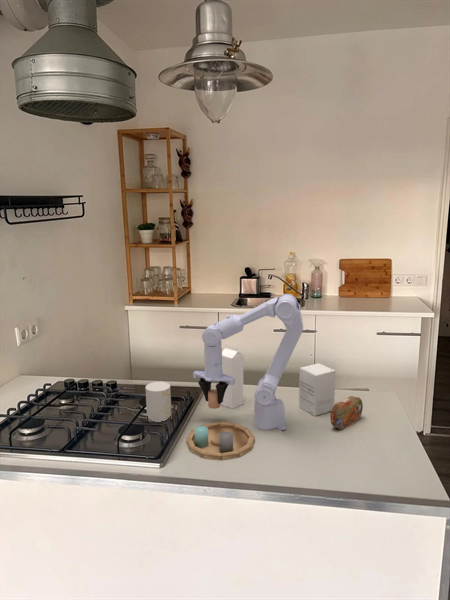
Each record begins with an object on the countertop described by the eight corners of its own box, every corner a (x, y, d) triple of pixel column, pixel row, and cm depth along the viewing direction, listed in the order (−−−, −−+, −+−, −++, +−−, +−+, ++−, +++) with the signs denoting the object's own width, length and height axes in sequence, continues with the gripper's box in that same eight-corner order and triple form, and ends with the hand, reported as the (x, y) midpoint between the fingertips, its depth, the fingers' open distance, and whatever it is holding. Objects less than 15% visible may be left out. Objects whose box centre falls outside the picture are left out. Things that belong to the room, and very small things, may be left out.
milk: (231, 399, 173) (231, 342, 169) (243, 403, 169) (243, 345, 165) (219, 404, 169) (219, 345, 164) (232, 409, 165) (232, 349, 160)
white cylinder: (167, 426, 153) (165, 392, 150) (143, 424, 154) (141, 390, 152) (174, 415, 161) (173, 382, 158) (152, 413, 162) (150, 380, 160)
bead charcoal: (230, 446, 138) (230, 430, 137) (235, 453, 134) (234, 437, 133) (217, 448, 137) (217, 433, 136) (221, 455, 133) (221, 439, 132)
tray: (241, 424, 154) (241, 418, 153) (263, 455, 135) (263, 448, 134) (181, 434, 148) (181, 427, 147) (196, 467, 129) (196, 460, 129)
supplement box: (317, 401, 171) (318, 362, 168) (334, 410, 163) (336, 370, 160) (297, 406, 166) (298, 367, 163) (314, 416, 159) (316, 375, 155)
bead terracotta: (218, 402, 156) (218, 388, 155) (221, 407, 152) (221, 393, 151) (206, 404, 155) (206, 390, 154) (210, 409, 151) (209, 394, 150)
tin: (336, 433, 148) (337, 408, 146) (328, 429, 150) (329, 405, 148) (362, 418, 157) (364, 394, 156) (354, 415, 160) (356, 392, 158)
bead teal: (206, 440, 142) (206, 425, 141) (209, 446, 138) (209, 431, 137) (193, 441, 141) (193, 426, 140) (196, 448, 137) (195, 432, 136)
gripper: (187, 362, 150) (189, 402, 153) (227, 369, 144) (228, 410, 147) (198, 356, 156) (200, 394, 159) (237, 362, 150) (238, 402, 153)
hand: (214, 401), depth 153 cm, fingers closed on bead terracotta, 4 cm apart
